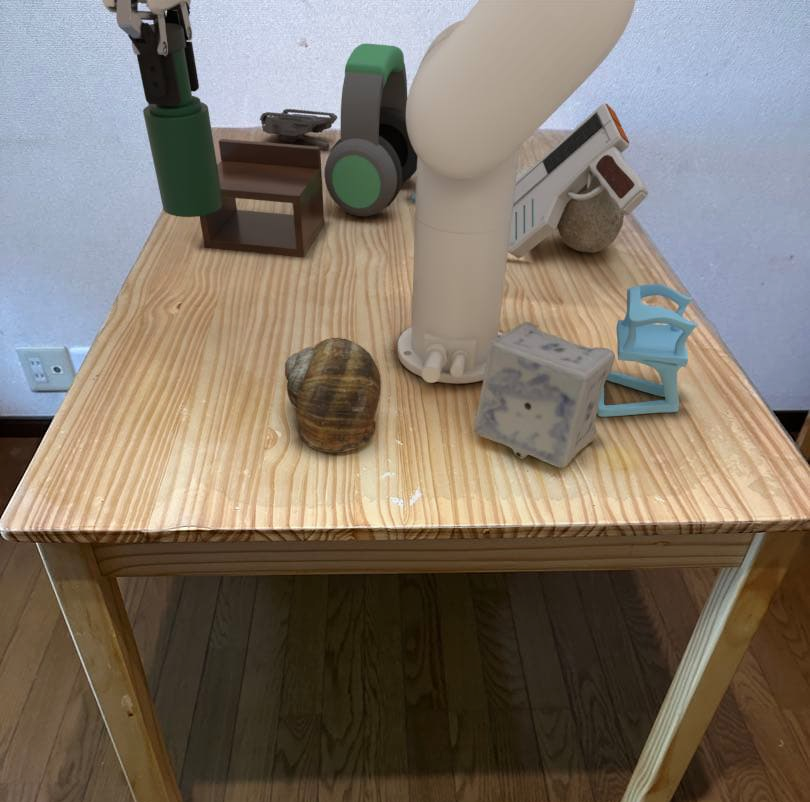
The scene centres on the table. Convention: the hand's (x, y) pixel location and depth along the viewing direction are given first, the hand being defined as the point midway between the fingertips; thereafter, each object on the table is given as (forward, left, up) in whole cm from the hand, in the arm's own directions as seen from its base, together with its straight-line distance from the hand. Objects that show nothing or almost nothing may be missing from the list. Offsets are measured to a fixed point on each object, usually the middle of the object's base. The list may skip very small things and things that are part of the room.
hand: (173, 94), depth 73 cm
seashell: (-14, -18, -25) cm, 34 cm away
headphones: (+44, -10, -25) cm, 51 cm away
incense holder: (-13, -38, -25) cm, 47 cm away
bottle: (0, 0, -10) cm, 10 cm away
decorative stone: (+32, -42, -25) cm, 58 cm away
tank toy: (+66, +8, -20) cm, 69 cm away
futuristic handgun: (+21, -41, -20) cm, 50 cm away
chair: (-4, -48, -25) cm, 54 cm away
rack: (+27, +2, -25) cm, 37 cm away
